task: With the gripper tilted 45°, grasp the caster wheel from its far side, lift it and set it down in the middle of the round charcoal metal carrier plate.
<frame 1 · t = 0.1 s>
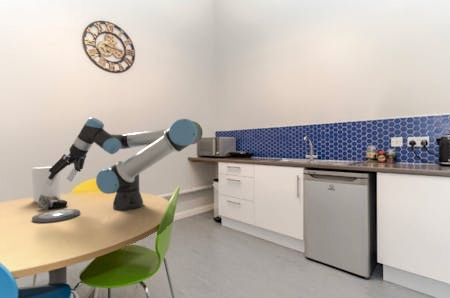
hand: (59, 182, 128), 15 cm above the table, tool tilted 35°, fingers open, 13 cm apart
carrier plate: (57, 216, 122), on the table
canister: (47, 199, 159), on the table
caster wheel: (54, 208, 139), on the table
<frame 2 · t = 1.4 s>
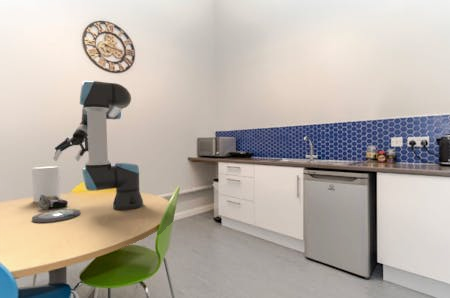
hand: (65, 159, 148), 25 cm above the table, tool tilted 45°, fingers open, 13 cm apart
nothing on the table moved.
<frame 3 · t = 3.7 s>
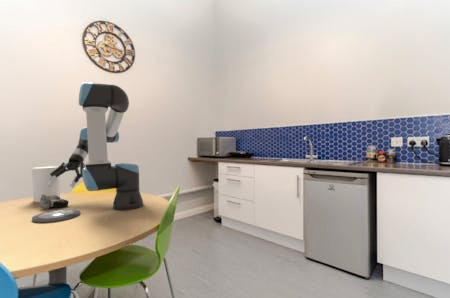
hand: (60, 186, 145), 10 cm above the table, tool tilted 45°, fingers open, 13 cm apart
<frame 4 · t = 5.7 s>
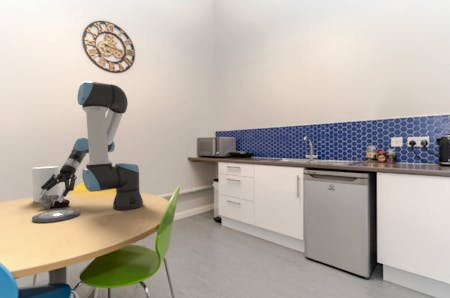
hand: (49, 201, 136), 4 cm above the table, tool tilted 45°, fingers open, 11 cm apart
caster wheel: (57, 207, 141), on the table, touching gripper
everything else where it was.
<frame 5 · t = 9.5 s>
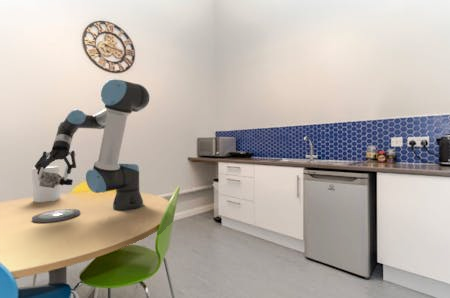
hand: (52, 179, 120), 18 cm above the table, tool tilted 45°, fingers closed on caster wheel, 10 cm apart
caster wheel: (58, 186, 124), point 14 cm above the table, touching gripper
everything else where it was.
when the fingers open (7 cm above the table, at t = 13.3 s): caster wheel drops 1 cm, resting on carrier plate.
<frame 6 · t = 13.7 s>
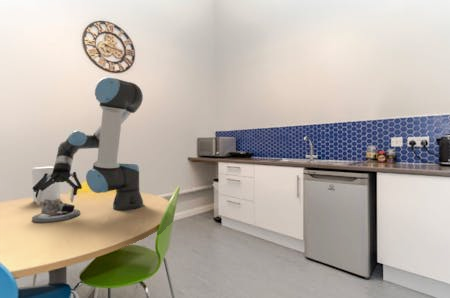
hand: (54, 202, 119), 7 cm above the table, tool tilted 45°, fingers open, 13 cm apart
caster wheel: (60, 213, 124), point 1 cm above the table, touching carrier plate
everything else where it was.
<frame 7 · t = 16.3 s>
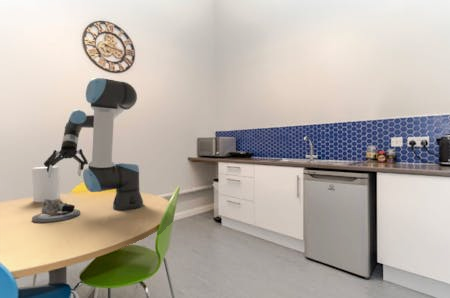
hand: (64, 175, 133), 18 cm above the table, tool tilted 40°, fingers open, 13 cm apart
nothing on the table moved.
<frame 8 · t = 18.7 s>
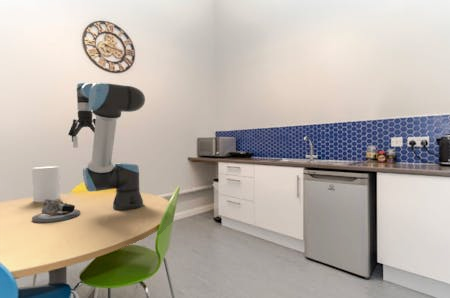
hand: (86, 147, 151), 32 cm above the table, tool pointing down, fingers open, 13 cm apart
nothing on the table moved.
at the end: caster wheel 2.0 cm from the carrier plate (horizontally); caster wheel touching carrier plate; the gripper is holding nothing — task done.
